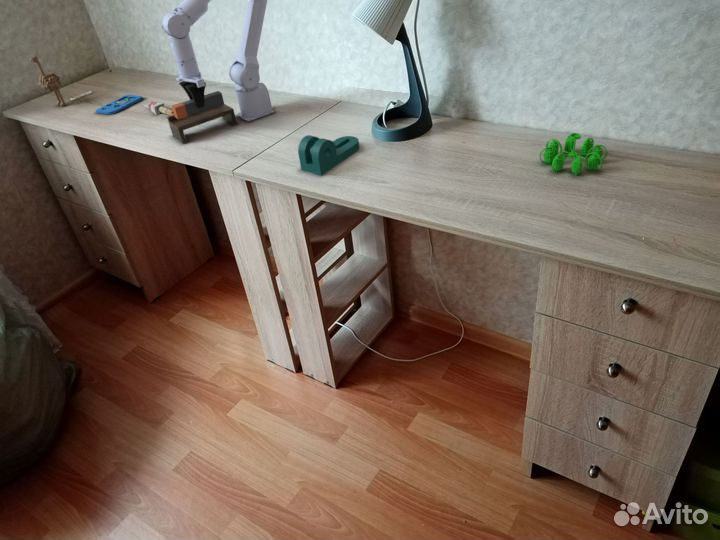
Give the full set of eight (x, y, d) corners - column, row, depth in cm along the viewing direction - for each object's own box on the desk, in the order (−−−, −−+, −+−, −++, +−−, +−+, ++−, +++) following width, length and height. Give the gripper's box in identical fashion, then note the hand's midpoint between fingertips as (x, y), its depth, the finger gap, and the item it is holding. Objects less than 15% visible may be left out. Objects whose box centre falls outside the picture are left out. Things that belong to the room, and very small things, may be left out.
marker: (220, 101, 170) (217, 90, 168) (224, 103, 168) (221, 92, 166) (174, 117, 164) (171, 105, 162) (178, 119, 162) (174, 107, 160)
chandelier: (525, 164, 133) (527, 137, 129) (565, 143, 139) (568, 116, 135) (579, 185, 123) (584, 156, 119) (619, 161, 129) (625, 133, 125)
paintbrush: (148, 96, 191) (181, 109, 180) (151, 104, 193) (183, 117, 182) (138, 100, 189) (171, 114, 178) (141, 108, 191) (173, 122, 180)
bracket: (321, 175, 139) (316, 146, 134) (301, 170, 143) (296, 141, 138) (364, 146, 150) (361, 118, 145) (345, 142, 153) (341, 114, 148)
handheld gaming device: (94, 109, 192) (126, 93, 202) (95, 112, 193) (127, 96, 203) (111, 111, 189) (142, 95, 199) (112, 114, 190) (143, 98, 200)
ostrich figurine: (57, 110, 200) (34, 59, 189) (47, 107, 203) (24, 57, 192) (97, 93, 210) (78, 44, 199) (88, 91, 213) (68, 43, 202)
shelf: (226, 117, 177) (221, 98, 173) (237, 124, 172) (232, 104, 168) (173, 136, 169) (166, 116, 166) (183, 143, 164) (176, 124, 160)
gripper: (162, 58, 160) (177, 103, 168) (182, 68, 150) (196, 116, 159) (185, 51, 163) (198, 96, 171) (205, 61, 153) (218, 108, 162)
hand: (198, 105), depth 165 cm, fingers closed on marker, 2 cm apart
